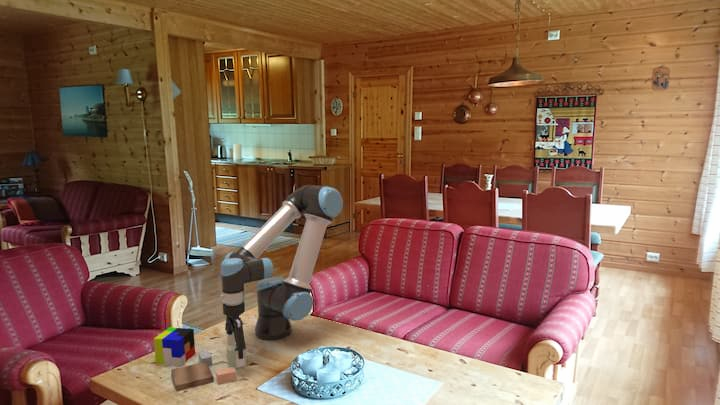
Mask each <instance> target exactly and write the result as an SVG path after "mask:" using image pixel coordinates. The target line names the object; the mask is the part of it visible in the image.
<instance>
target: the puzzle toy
mask: <svg viewBox="0 0 720 405" xmlns="http://www.w3.org/2000/svg"><path fill="white" fill-rule="evenodd" d="M153 345H154V355H155V357H154V358H155V365H161V364H162V365H163V366H171V365H172V366H174V367H183V365H184V364H185V363H187V362H188V361H189V360H190V359H191V358H192V357H193V356H194V355H195V354H196V343H195V331H194V329H193V328H186V327H185V328H184V327H173V326H172V327H171V326H170V327H167V329H165V330H164V331H163V332H161V333H159V334H158V335H157V336H155V337H154V338H153ZM189 358H190V359H189ZM188 359H189V360H188ZM187 360H188V361H187ZM172 366H171V367H172Z"/></svg>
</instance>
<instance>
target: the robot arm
mask: <svg viewBox="0 0 720 405" xmlns="http://www.w3.org/2000/svg"><path fill="white" fill-rule="evenodd" d="M343 205H344V200H343V197H342V195H341V193H340V192H339V190H338V189H336V188H333V187H331V186H325V185H314V184H307V185H303V186H301V187H300V188H298V189H296V190H295V191H293V192H292V193H291V194H290V195H288V197H286V198H285V199H284V201H282V206H281V207H280V208H279V209H278V210H277V211H276V212H275V213H274V214H273V215H272V216H271V217H270V218H269V219H268V220H266V222H265V223H264V224H263V225H261V227H260V228H259V229H258V230H257V231H256V232H255V233H254V234H253V235H252V236H251V237H250V238H249V239H248V240H247V241H246V242H244V244H243V245H242V246H241V247H240V248H239V249H238V250H237V251H230V252H229V253H227V254H226V255H225V257H224V260H222V262H221V264H220V265H221V266H220V277H221V278H220V279H221V294H220V298H222V313H223V315H225V326H224V327H225V329H224V330H225V333H226V344H227V345H226V347H227V346H230V345H235V344H236V349H235V351H236V367H237V369H238V368H243V367H245V366H246V365H245V360H244V350H245V349H246V350H247V346H246V340H245V334H244V333H245V332H244V327H243V325H244V324H243V320H242V318H241V317H240V316H241V315H243V313H245V310H246V308H245V307H246V306H245V284H250V283H253V282H257V281H258V282H257V283H256V293H257V294H256V295H257V296H256V297H257V299H256V300H257V312H258V316H257V319H256V324H255V326H254V335H255V337H256V338H258V339H259V340H264V341H275V340H279V339H284V338H286V337H288V336H289V335H291V333H292V331H293V328H292V324H291V323H292V322H291V321H301V320H303V319H304V318H306V317H307V316H308V315H309V314H310V313H311V311H312V310H313V306H314V299H313V296H312V295H311V292H312V286H311V283H310V282H311V279H312V275H313V272H314V269H315V266H316V262H317V260H318V257H319V254H320V253H319V252H320V250H321V247H322V243H323V239H324V237H325V233H326V230H327V227H328V226H329V225H331V224H333V220H334V218H335V217H338V216H339V215H340V214H341V212H342V210H343V207H344V206H343ZM303 215H304V217H305V223H304V225H303V226H304V227H303V230H302V233H301V236H300V240H299V243H298V246H297V249H296V252H295V255H294V258H293V261H292V265H291V269H290V272H289V275H288V277H287V278H284V277H282V276H275V277H272V276H273V274H274V264H273V262H272V260H271V259H270V258H269V257H263V258H262V257H261V258H259V257H260V256H261V255H262V254H263V253H264V252H265V251H266V250H267V249H268V247H269V246H271V244H273V243H274V241H275V240H277V239H278V237H279V236H281V234H282V233H283V232H284V231H285V230H286V229H288V227H289V226H290V225H291V224H292V223H293V222H294V221H295V220H296V219H300V218H301V217H302V216H303ZM290 320H291V321H290Z"/></svg>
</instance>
